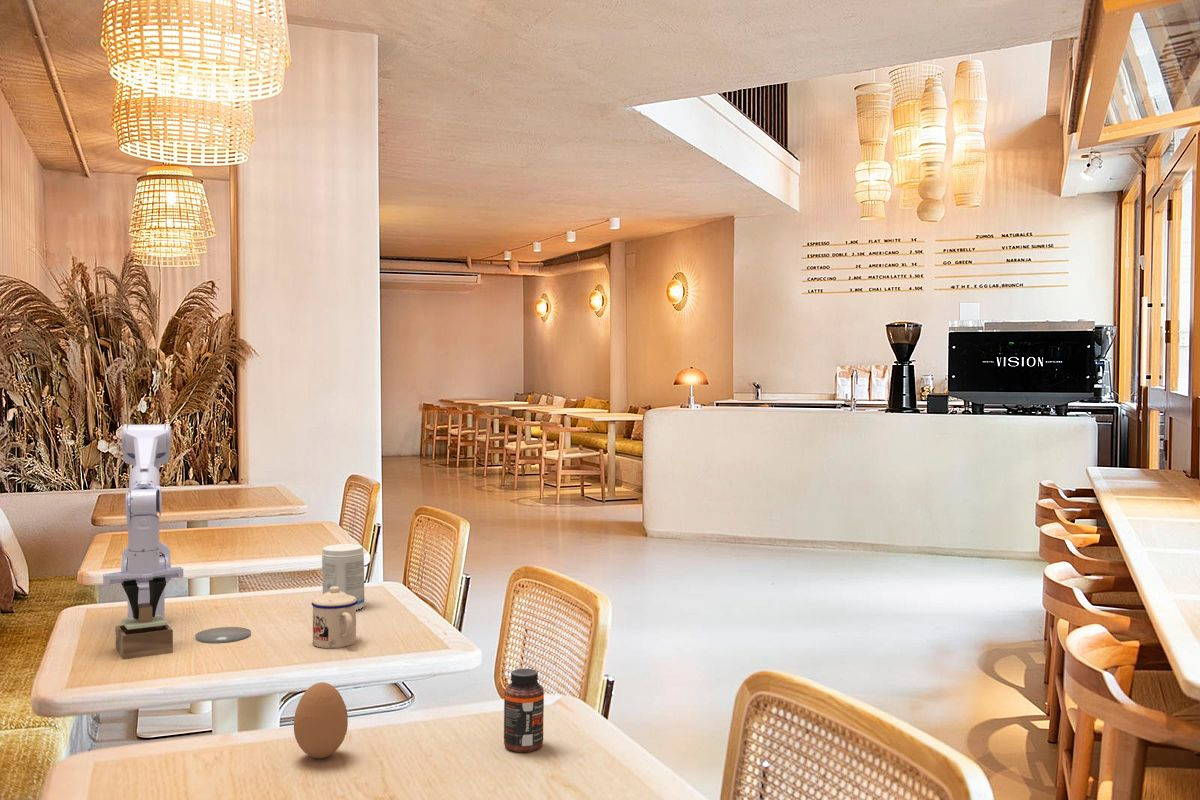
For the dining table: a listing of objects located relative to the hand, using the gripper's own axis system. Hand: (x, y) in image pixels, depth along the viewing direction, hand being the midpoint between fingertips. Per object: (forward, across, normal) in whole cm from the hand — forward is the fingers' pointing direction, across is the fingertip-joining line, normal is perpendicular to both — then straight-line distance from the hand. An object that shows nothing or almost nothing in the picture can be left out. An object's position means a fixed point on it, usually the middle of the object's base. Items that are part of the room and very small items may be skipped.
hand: (143, 617), depth 204 cm
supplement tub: (+7, +46, +14) cm, 49 cm away
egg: (+7, +11, -74) cm, 75 cm away
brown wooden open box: (+7, 0, 0) cm, 7 cm away
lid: (+1, 0, 0) cm, 1 cm away
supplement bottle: (+7, +38, -86) cm, 94 cm away
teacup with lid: (+7, +34, -16) cm, 38 cm away
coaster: (+7, +16, +3) cm, 18 cm away
